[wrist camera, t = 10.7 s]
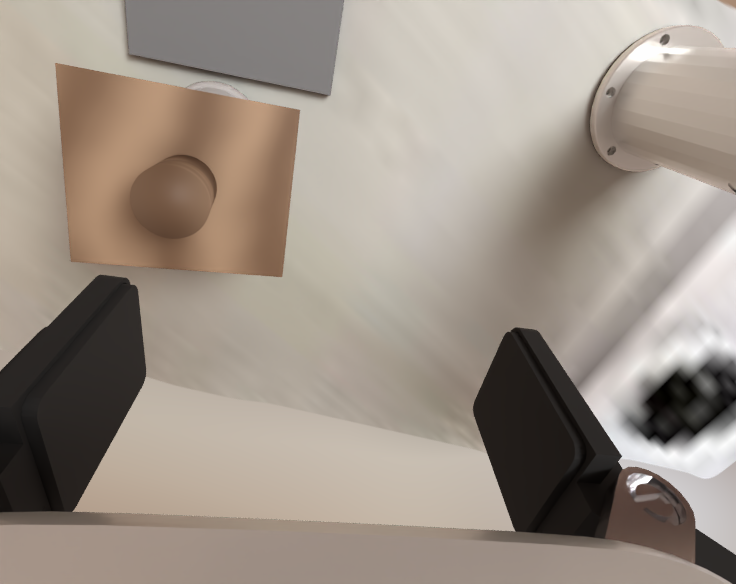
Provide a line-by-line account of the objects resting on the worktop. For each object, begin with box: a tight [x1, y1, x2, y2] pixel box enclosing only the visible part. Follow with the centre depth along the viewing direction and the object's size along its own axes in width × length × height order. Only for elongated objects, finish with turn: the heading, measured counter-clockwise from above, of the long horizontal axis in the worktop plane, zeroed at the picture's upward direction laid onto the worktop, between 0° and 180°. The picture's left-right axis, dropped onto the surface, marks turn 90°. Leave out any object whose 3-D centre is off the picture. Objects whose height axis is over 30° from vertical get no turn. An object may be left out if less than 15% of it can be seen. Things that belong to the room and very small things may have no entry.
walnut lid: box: [55, 63, 300, 277], centre depth 26 cm, size 14×12×7 cm
